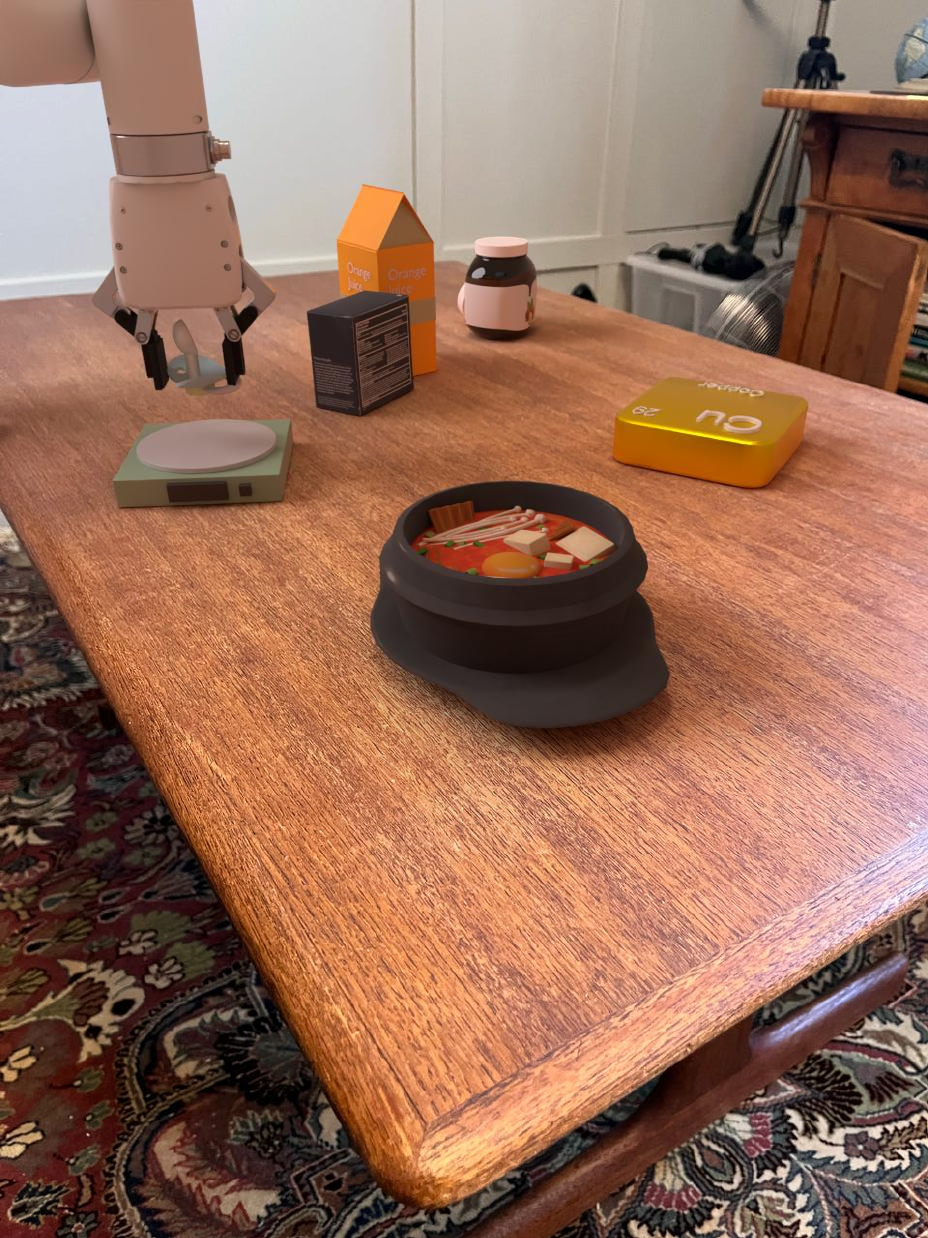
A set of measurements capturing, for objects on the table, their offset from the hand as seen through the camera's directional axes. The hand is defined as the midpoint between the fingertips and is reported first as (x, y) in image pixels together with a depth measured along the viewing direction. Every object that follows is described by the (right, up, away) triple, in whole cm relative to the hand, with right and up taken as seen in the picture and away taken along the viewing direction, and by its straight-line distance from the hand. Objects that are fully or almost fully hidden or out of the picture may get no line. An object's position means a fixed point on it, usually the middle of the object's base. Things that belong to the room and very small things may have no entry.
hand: (198, 382), depth 86 cm
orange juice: (+15, +9, +32) cm, 36 cm away
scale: (0, -7, +4) cm, 8 cm away
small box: (+12, +4, +23) cm, 26 cm away
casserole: (+26, -22, -20) cm, 40 cm away
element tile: (+47, -5, +8) cm, 48 cm away
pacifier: (+1, -1, +1) cm, 1 cm away
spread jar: (+27, +18, +47) cm, 57 cm away
